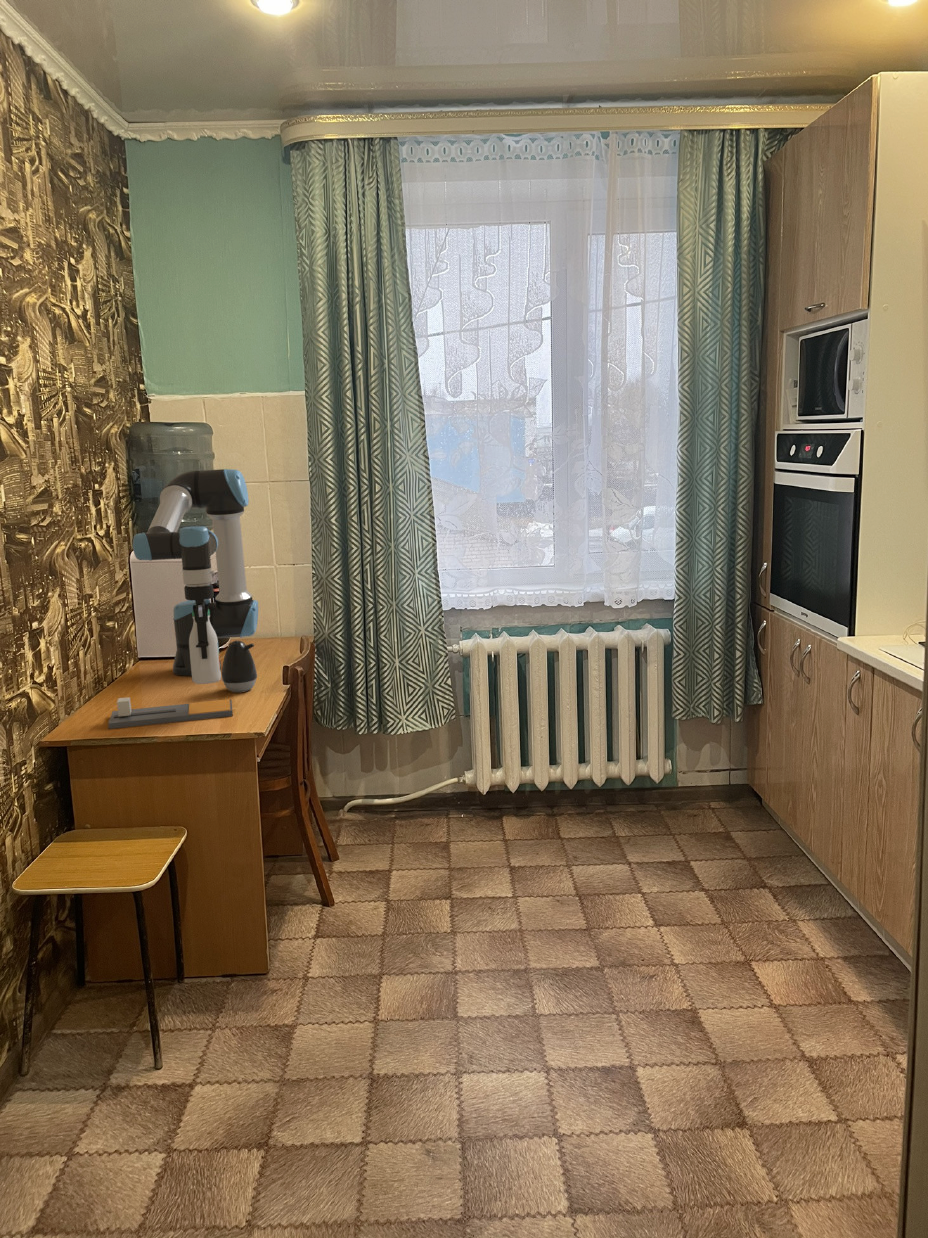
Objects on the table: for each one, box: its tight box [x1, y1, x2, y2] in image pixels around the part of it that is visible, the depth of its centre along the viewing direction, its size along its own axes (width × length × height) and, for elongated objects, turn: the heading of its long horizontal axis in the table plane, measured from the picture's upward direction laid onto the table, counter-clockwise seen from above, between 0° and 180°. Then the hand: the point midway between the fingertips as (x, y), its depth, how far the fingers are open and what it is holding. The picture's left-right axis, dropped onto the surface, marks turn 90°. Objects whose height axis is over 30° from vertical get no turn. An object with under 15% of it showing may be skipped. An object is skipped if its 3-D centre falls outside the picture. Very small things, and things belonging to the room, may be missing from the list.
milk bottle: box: [189, 609, 222, 685], centre depth 265 cm, size 8×8×20 cm
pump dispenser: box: [221, 640, 258, 693], centre depth 289 cm, size 10×10×15 cm
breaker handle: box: [116, 696, 132, 716], centre depth 262 cm, size 4×3×4 cm
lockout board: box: [107, 698, 234, 730], centre depth 266 cm, size 12×32×2 cm, turn 104°
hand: (205, 666), depth 266 cm, fingers closed on milk bottle, 8 cm apart
